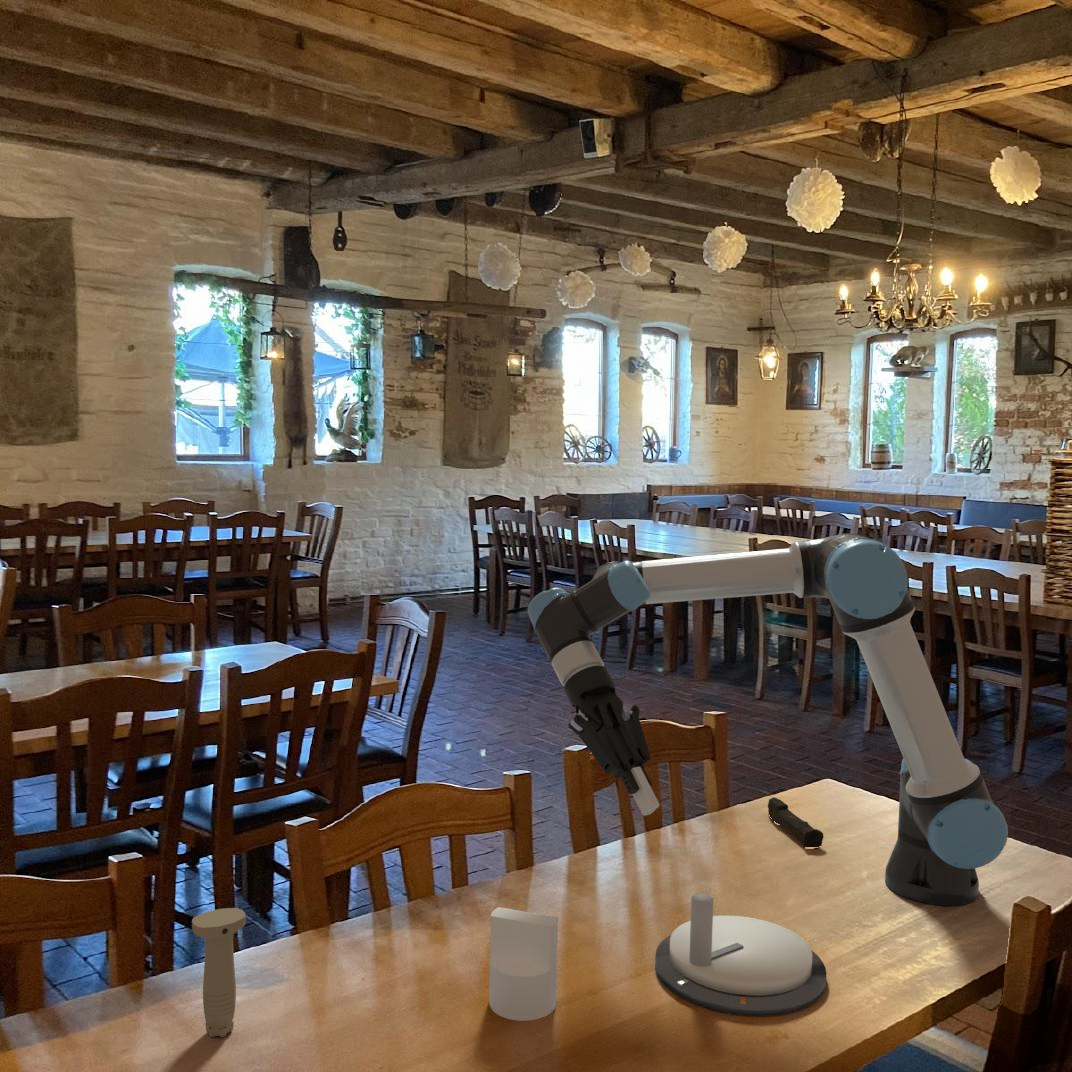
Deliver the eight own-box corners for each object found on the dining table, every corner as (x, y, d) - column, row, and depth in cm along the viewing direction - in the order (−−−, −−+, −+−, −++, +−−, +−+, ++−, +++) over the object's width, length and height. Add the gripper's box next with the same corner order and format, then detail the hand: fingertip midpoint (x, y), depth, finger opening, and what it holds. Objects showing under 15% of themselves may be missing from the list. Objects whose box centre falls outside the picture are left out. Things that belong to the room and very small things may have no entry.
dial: (736, 916, 166) (738, 848, 165) (841, 968, 150) (844, 893, 149) (640, 950, 154) (642, 877, 153) (743, 1010, 138) (746, 929, 137)
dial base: (787, 930, 166) (788, 918, 166) (855, 1010, 142) (855, 998, 142) (637, 937, 162) (638, 926, 162) (681, 1021, 139) (681, 1008, 139)
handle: (188, 1030, 134) (187, 916, 133) (238, 1016, 138) (237, 904, 137) (199, 1049, 130) (198, 931, 129) (251, 1033, 134) (250, 918, 133)
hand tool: (823, 850, 200) (824, 826, 200) (804, 851, 199) (805, 827, 199) (781, 816, 219) (782, 794, 218) (763, 817, 218) (764, 794, 217)
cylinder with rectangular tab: (564, 993, 146) (566, 908, 145) (543, 1026, 137) (545, 936, 136) (503, 981, 148) (504, 898, 147) (479, 1013, 140) (480, 925, 139)
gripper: (604, 685, 174) (670, 814, 162) (540, 694, 166) (605, 831, 154) (626, 659, 169) (697, 790, 157) (561, 667, 162) (630, 806, 150)
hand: (651, 810), depth 156 cm, fingers closed
